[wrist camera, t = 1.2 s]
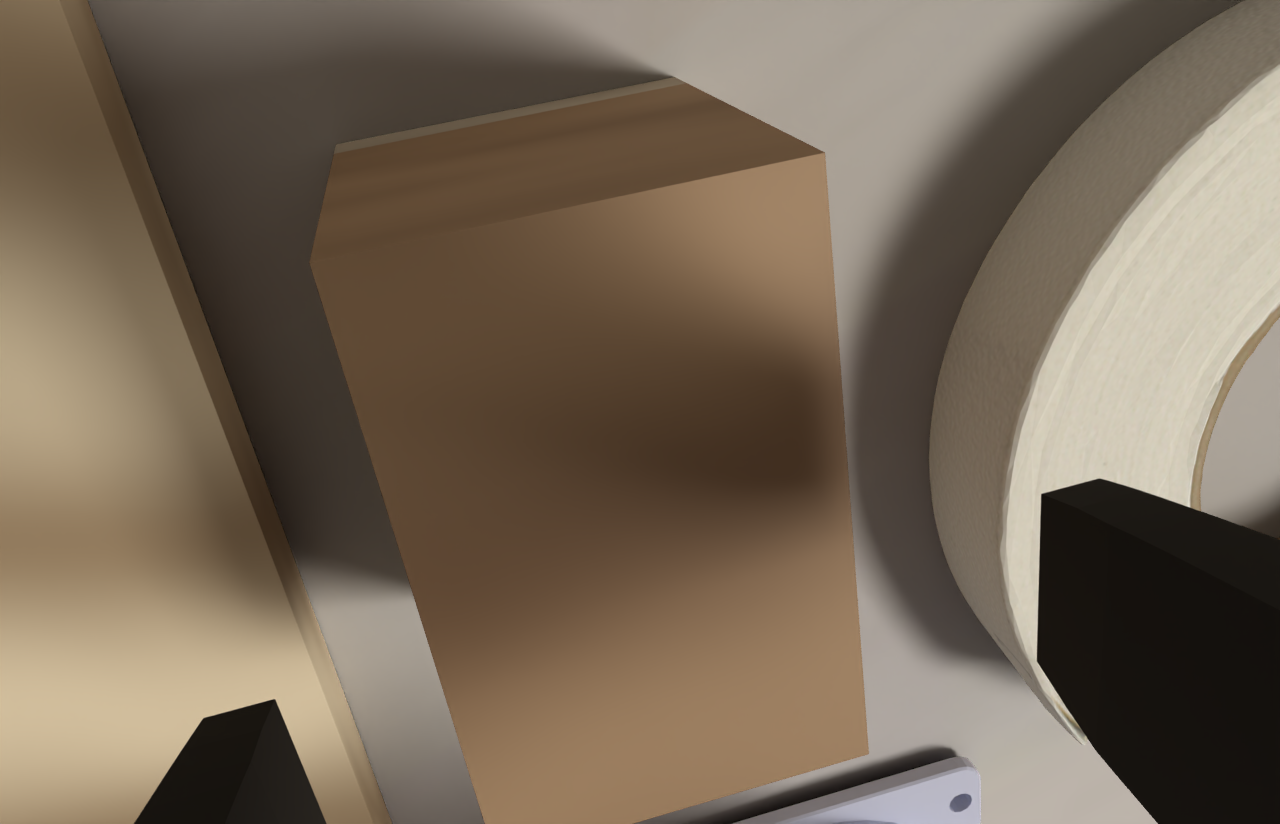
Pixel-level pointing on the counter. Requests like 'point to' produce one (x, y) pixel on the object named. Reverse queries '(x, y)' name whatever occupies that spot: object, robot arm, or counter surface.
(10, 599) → the board
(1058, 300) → the roll of tape
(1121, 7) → the counter surface
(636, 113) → the block
